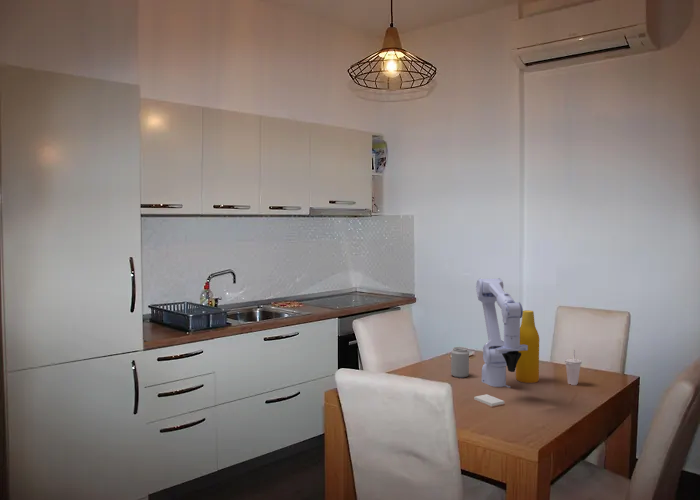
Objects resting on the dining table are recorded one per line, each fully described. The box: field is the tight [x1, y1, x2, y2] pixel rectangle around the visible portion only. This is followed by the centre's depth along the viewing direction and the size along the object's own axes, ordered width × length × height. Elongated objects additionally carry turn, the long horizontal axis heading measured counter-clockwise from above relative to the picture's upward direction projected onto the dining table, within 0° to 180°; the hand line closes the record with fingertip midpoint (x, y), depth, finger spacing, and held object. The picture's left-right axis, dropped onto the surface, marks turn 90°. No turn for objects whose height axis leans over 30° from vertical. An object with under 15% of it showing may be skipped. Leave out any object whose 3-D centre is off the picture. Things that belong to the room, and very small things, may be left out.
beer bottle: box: [515, 309, 540, 384], centre depth 239 cm, size 9×9×29 cm
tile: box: [473, 393, 505, 408], centre depth 207 cm, size 9×2×6 cm
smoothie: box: [564, 349, 582, 386], centre depth 234 cm, size 6×6×14 cm
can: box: [450, 346, 470, 379], centre depth 246 cm, size 8×8×12 cm
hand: (511, 371), depth 214 cm, fingers closed
